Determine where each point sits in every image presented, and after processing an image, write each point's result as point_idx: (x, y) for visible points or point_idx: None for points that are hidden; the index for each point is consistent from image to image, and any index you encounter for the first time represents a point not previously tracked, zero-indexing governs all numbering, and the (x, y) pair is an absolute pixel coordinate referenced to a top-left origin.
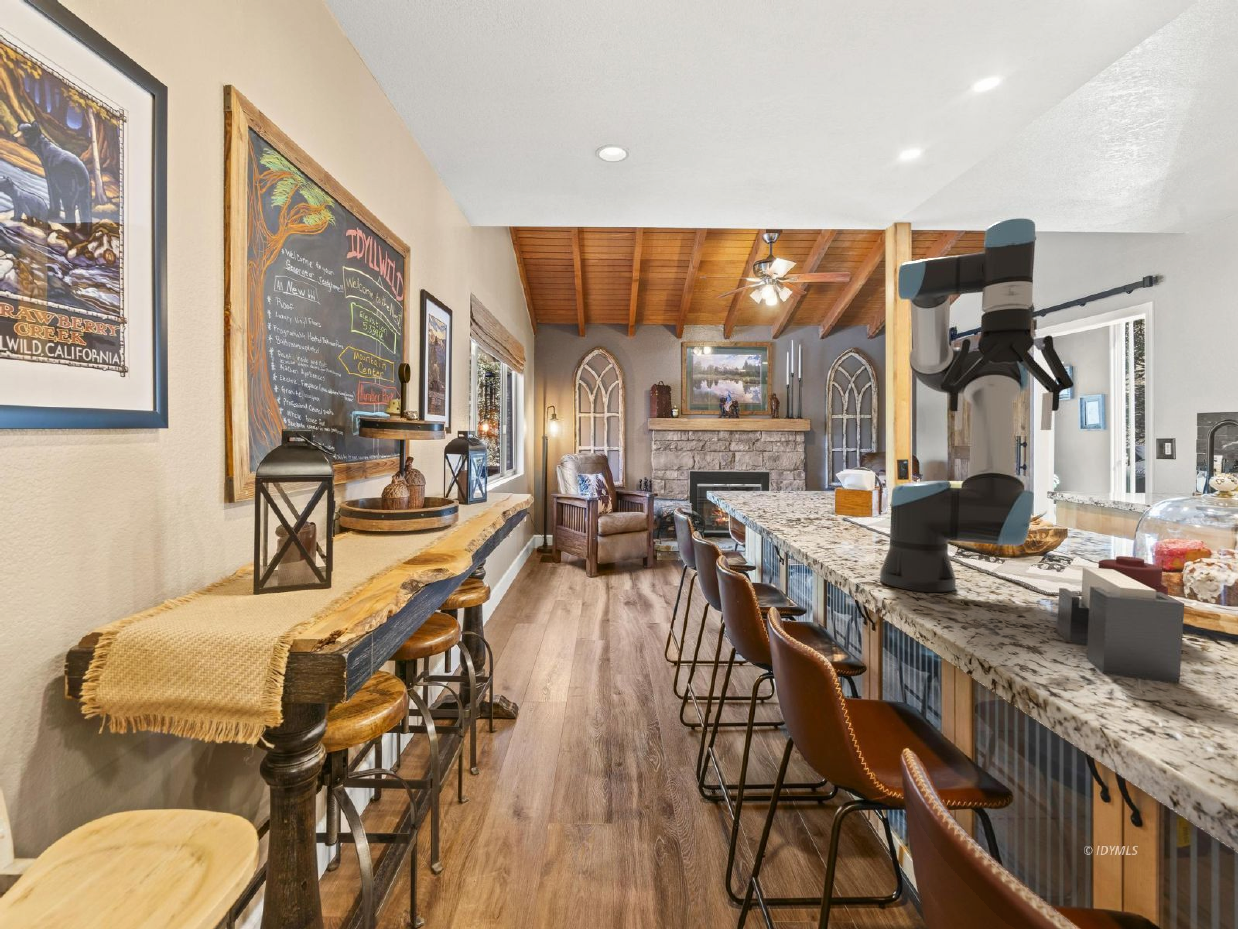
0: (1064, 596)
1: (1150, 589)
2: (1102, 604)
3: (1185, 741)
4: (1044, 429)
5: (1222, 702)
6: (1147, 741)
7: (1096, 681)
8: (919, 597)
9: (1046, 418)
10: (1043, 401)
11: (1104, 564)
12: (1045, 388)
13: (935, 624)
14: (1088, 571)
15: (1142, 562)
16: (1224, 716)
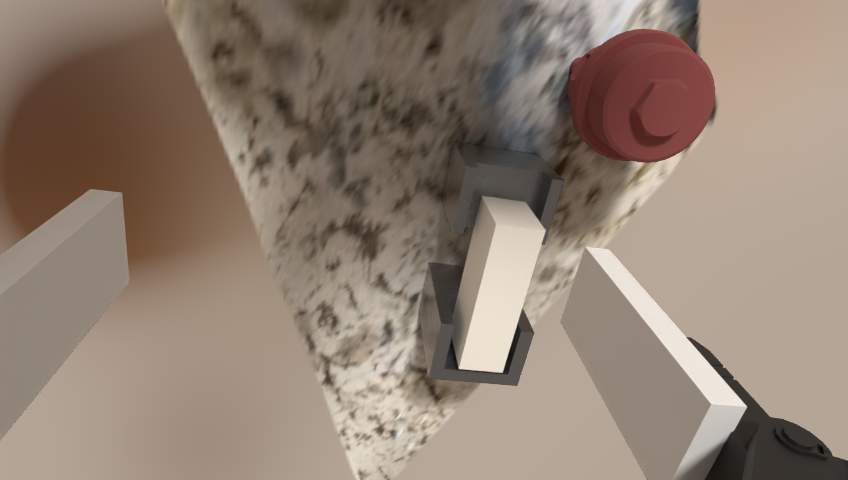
0: (458, 193)
1: (498, 368)
2: (429, 355)
3: (399, 439)
4: (567, 302)
5: None
6: (366, 447)
7: (396, 334)
8: None
9: (583, 361)
10: (660, 379)
11: (602, 115)
12: (753, 450)
13: (243, 150)
14: (488, 249)
15: (669, 135)
16: (474, 386)
